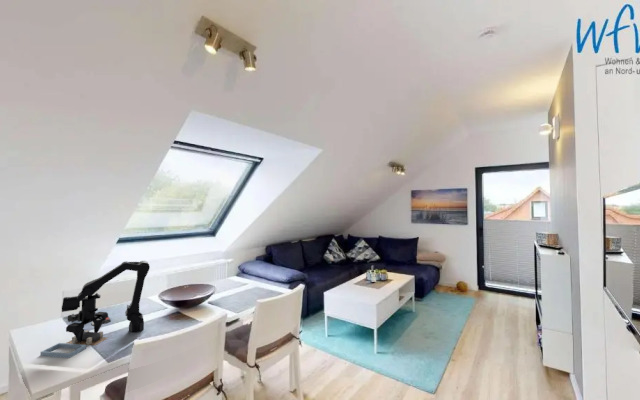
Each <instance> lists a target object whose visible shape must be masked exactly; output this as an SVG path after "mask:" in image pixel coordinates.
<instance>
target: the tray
mask: <svg viewBox="0 0 640 400" xmlns="http://www.w3.org/2000/svg"><path fill="white" fill-rule="evenodd" d="M58 348H65V349H75V350H73V351H71V352H57V351H55V350H56V349H58ZM86 349H87V345H83V344H70V343H67V342H58V343H56V344H54V345H52V346H49V347H48V348H46V349H44V350H41V351H40V356H41V357H54V358H65V359H66V358H67V359H70V358H72V357H74V356H75V355H77V354H78V353H81V352H82V351H84V350H86Z"/></svg>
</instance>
